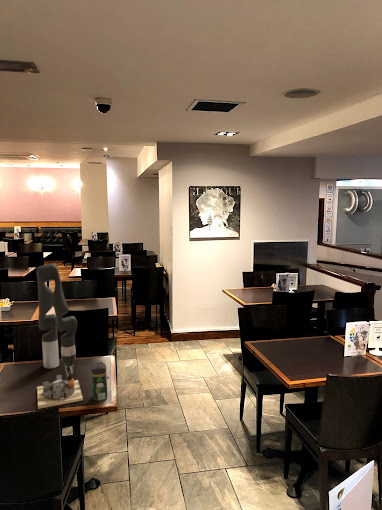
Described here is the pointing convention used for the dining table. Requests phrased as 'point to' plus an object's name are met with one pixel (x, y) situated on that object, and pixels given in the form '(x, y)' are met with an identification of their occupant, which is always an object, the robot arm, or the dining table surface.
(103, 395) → the coffee jar
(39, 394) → the base plate
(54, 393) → the ring nut
